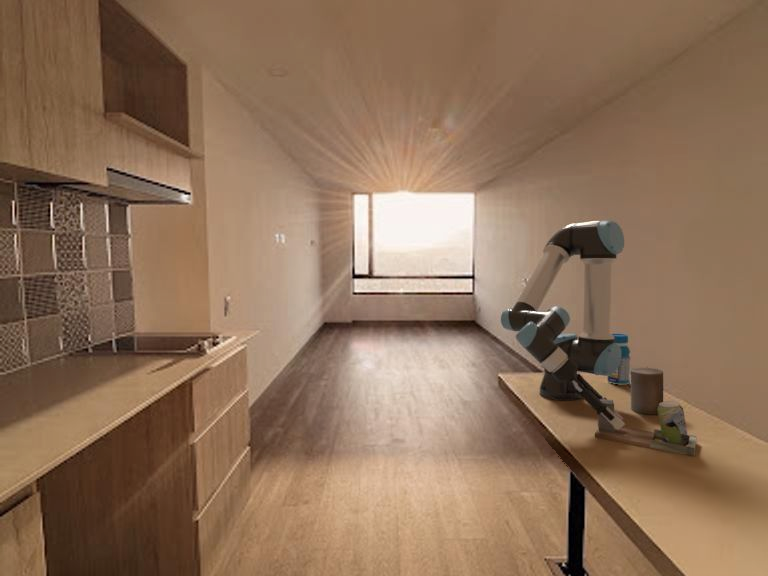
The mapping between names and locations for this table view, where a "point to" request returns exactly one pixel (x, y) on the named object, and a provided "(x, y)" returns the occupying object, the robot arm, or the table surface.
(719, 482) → the table surface
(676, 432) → the beverage can
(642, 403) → the pillar candle
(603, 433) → the pull strip
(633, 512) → the table surface
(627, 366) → the beverage bottle
